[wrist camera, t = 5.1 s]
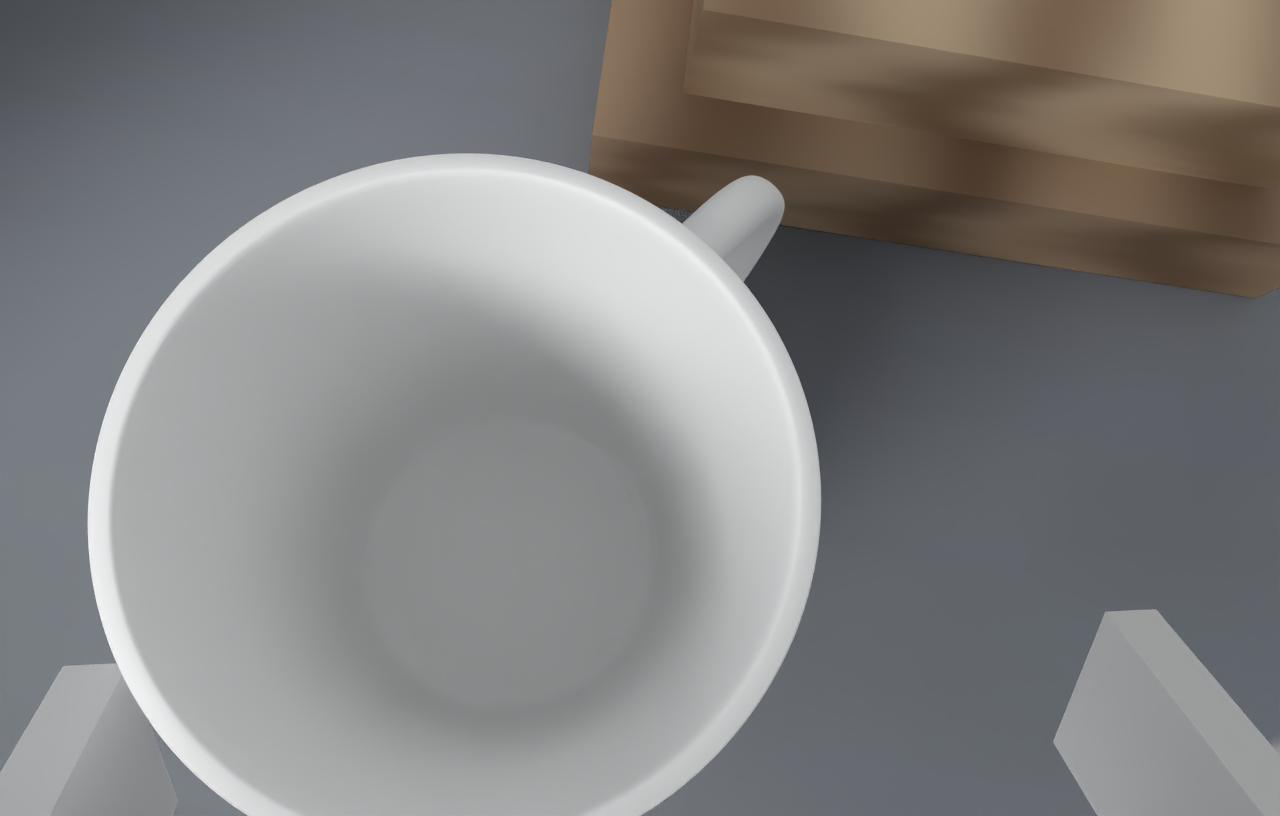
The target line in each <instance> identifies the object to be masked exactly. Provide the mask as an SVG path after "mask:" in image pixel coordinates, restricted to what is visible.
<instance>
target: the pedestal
mask: <svg viewBox="0 0 1280 816" xmlns="http://www.w3.org/2000/svg"><path fill="white" fill-rule="evenodd" d="M589 175H592V176H595V177H597V178H600V179H603V180H605V181H607V182H610V183H612V184H614V185H617V186H619V187H621V188H623V189H625V190H627V191H629V192H631V193H633V194H635V195H637V196H639V197H641V198H643V199H644V200H646V201H648V202H650V203H651V204H653V205H655V206H662V207H668V208H675V209H681V210H687V211H694V212H695V211H696V210H697V209H698V208H699V207H701V206H702V205H703V204H704V203H705V202H706V201H707V200H709V199H710V198H711V197H712V196H713V195H715V194H716V193H717V192H718V191H720V190H721V189H722V188H724V187H725V186H727V185H728V184H730V183H731V182H733V181H735V180H737V179H739V178H741V177H744V176H750V175H754V176H759V177H762V178H764V179H766V180H768V181H769V182H771V183H772V184H773V185H774V186H775V187H776V188H777V189H778V190H779V191H780V193H781V194H782V196H783V199H784V204H785V208H784V213H783V216H782V219H781V221H780V223H779V225H784V226H791V227H797V228H804V229H810V230H817V231H823V232H830V233H836V234H843V235H849V236H856V237H862V238H868V239H875V240H881V241H888V242H894V243H901V244H907V245H914V246H920V247H927V248H933V249H940V250H946V251H952V252H959V253H965V254H972V255H978V256H985V257H991V258H998V259H1004V260H1011V261H1017V262H1024V263H1030V264H1037V265H1043V266H1049V267H1056V268H1062V269H1069V270H1075V271H1082V272H1088V273H1095V274H1101V275H1108V276H1114V277H1121V278H1127V279H1133V280H1140V281H1146V282H1153V283H1159V284H1166V285H1172V286H1179V287H1185V288H1192V289H1198V290H1205V291H1211V292H1218V293H1224V294H1230V295H1237V296H1243V297H1250V298H1257V297H1260V296H1262V295H1264V294H1266V293H1268V292H1270V291H1272V290H1274V289H1277V288H1279V287H1280V0H612V3H611V10H610V16H609V23H608V30H607V37H606V43H605V50H604V57H603V64H602V71H601V77H600V84H599V91H598V98H597V104H596V111H595V118H594V125H593V131H592V141H591V152H590V164H589Z"/></svg>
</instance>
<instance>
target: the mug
mask: <svg viewBox="0 0 1280 816" xmlns="http://www.w3.org/2000/svg"><path fill="white" fill-rule="evenodd" d="M784 208H785V204H784V199H783V196H782V194H781V193H780V191H779V190H778V189H777V188H776V187H775V186H774V185H773V184H772V183H771V182H769V181H768V180H766V179H764V178H762V177H759V176H754V175H750V176H744V177H741V178H739V179H737V180H735V181H733V182H731V183H730V184H728V185H727V186H725V187H724V188H722V189H721V190H720V191H718V192H717V193H716V194H715V195H713V196H712V197H711V198H710V199H709V200H707V201H706V202H705V203H704V204H703V205H702V206H701V207H699V208H698V209H697V210H696V211H695V212H694V213H693V214H692V215H691V216H690V217H689V218H688V219H686V220H685V221H684V222H683V223H680V222H679V221H677V220H676V219H675V218H673V217H672V216H670V215H669V214H667V213H666V212H664V211H663V210H661V209H660V208H658V207H656V206H655V205H653V204H651V203H650V202H648V201H646V200H644V199H643V198H641V197H639V196H637V195H635V194H633V193H631V192H629V191H627V190H625V189H623V188H621V187H619V186H617V185H614V184H612V183H610V182H607V181H605V180H603V179H600V178H597V177H595V176H592V175H589V174H586V173H584V172H580V171H577V170H574V169H571V168H567V167H564V166H560V165H556V164H552V163H548V162H543V161H538V160H533V159H527V158H521V157H514V156H505V155H494V154H472V153H461V154H438V155H427V156H419V157H412V158H405V159H399V160H394V161H389V162H384V163H380V164H376V165H372V166H368V167H365V168H361V169H358V170H354V171H351V172H348V173H345V174H342V175H339V176H337V177H334V178H331V179H329V180H326V181H324V182H321V183H319V184H316V185H314V186H312V187H310V188H307V189H305V190H303V191H301V192H299V193H297V194H295V195H293V196H291V197H289V198H287V199H285V200H284V201H282V202H280V203H278V204H276V205H275V206H273V207H271V208H270V209H268V210H266V211H265V212H263V213H262V214H260V215H258V216H257V217H255V218H254V219H252V220H251V221H250V222H248V223H247V224H245V225H244V226H243V227H241V228H240V229H238V230H237V231H236V232H234V233H233V234H232V235H231V236H229V237H228V238H227V239H226V240H224V241H223V242H222V243H221V244H220V245H218V246H217V247H216V248H215V249H214V250H213V251H212V252H210V253H209V254H208V255H207V256H206V257H205V258H204V259H203V260H202V261H201V262H200V263H199V264H198V265H197V266H196V267H195V268H194V269H193V270H192V271H191V272H190V273H189V274H188V275H187V276H186V277H185V278H184V279H183V281H182V282H181V283H180V284H179V285H178V286H177V287H176V289H175V290H174V291H173V292H172V293H171V295H170V296H169V297H168V298H167V300H166V301H165V302H164V304H163V305H162V306H161V308H160V309H159V310H158V312H157V313H156V314H155V316H154V317H153V319H152V320H151V322H150V323H149V325H148V326H147V328H146V329H145V331H144V332H143V334H142V336H141V337H140V339H139V341H138V342H137V344H136V346H135V348H134V349H133V351H132V353H131V355H130V357H129V359H128V361H127V363H126V365H125V367H124V369H123V371H122V373H121V375H120V378H119V380H118V382H117V384H116V387H115V389H114V392H113V394H112V397H111V399H110V402H109V405H108V408H107V411H106V414H105V417H104V420H103V424H102V427H101V431H100V434H99V438H98V442H97V447H96V451H95V456H94V462H93V467H92V474H91V481H90V491H89V503H88V545H89V558H90V567H91V575H92V581H93V587H94V592H95V597H96V601H97V606H98V610H99V614H100V617H101V621H102V624H103V627H104V631H105V634H106V637H107V640H108V642H109V645H110V648H111V650H112V653H113V655H114V658H115V660H116V662H117V665H118V667H119V669H120V671H121V673H122V675H123V678H124V679H125V681H126V683H127V685H128V687H129V689H130V691H131V693H132V695H133V696H134V698H135V700H136V701H137V703H138V705H139V706H140V708H141V709H142V711H143V713H144V714H145V716H146V717H147V719H148V720H149V721H150V723H151V724H152V726H153V727H154V728H155V730H156V731H157V732H158V734H159V735H160V736H161V738H162V739H163V740H164V741H165V743H166V744H167V745H168V746H169V747H170V749H171V750H172V751H173V752H174V753H175V754H176V755H177V757H178V758H179V759H180V760H181V761H182V762H183V763H184V764H185V765H186V766H187V767H188V768H189V769H190V770H191V771H192V772H193V773H194V774H195V775H196V776H197V777H198V778H199V779H201V780H202V781H203V782H204V783H205V784H206V785H207V786H209V787H210V788H211V789H212V790H213V791H214V792H216V793H217V794H218V795H219V796H221V797H222V798H223V799H225V800H226V801H227V802H229V803H230V804H231V805H233V806H234V807H236V808H237V809H239V810H240V811H242V812H243V813H245V814H246V815H248V816H641V815H643V814H644V813H646V812H647V811H649V810H650V809H652V808H654V807H655V806H656V805H658V804H659V803H661V802H662V801H664V800H665V799H666V798H668V797H669V796H671V795H672V794H673V793H675V792H676V791H677V790H678V789H680V788H681V787H682V786H683V785H685V784H686V783H687V782H688V781H689V780H691V779H692V778H693V777H694V776H695V775H696V774H697V773H699V772H700V771H701V770H702V769H703V768H704V767H705V766H706V765H707V764H708V763H709V762H710V761H711V760H712V759H713V758H714V757H715V756H716V755H717V754H718V753H719V752H720V751H721V750H722V749H723V748H724V747H725V746H726V744H727V743H728V742H729V741H730V740H731V739H732V738H733V736H734V735H735V734H736V733H737V732H738V730H739V729H740V728H741V727H742V725H743V724H744V723H745V721H746V720H747V719H748V718H749V716H750V715H751V713H752V712H753V711H754V709H755V708H756V706H757V705H758V703H759V702H760V700H761V699H762V697H763V696H764V694H765V693H766V691H767V689H768V688H769V686H770V684H771V683H772V681H773V679H774V677H775V676H776V674H777V672H778V670H779V668H780V666H781V664H782V662H783V660H784V658H785V656H786V654H787V652H788V650H789V648H790V645H791V643H792V641H793V638H794V636H795V633H796V631H797V628H798V626H799V623H800V620H801V617H802V614H803V611H804V608H805V605H806V602H807V598H808V595H809V591H810V587H811V583H812V579H813V574H814V569H815V564H816V558H817V551H818V544H819V535H820V522H821V479H820V467H819V458H818V450H817V444H816V438H815V433H814V428H813V423H812V419H811V415H810V411H809V408H808V404H807V401H806V397H805V394H804V391H803V388H802V385H801V383H800V380H799V377H798V375H797V372H796V370H795V367H794V365H793V363H792V360H791V358H790V356H789V354H788V352H787V350H786V348H785V345H784V344H783V342H782V340H781V338H780V336H779V334H778V332H777V331H776V329H775V327H774V325H773V324H772V322H771V320H770V319H769V317H768V316H767V314H766V312H765V311H764V309H763V308H762V306H761V305H760V304H759V302H758V301H757V299H756V298H755V297H754V295H753V294H752V293H751V291H750V290H749V289H748V287H747V286H746V285H745V284H744V280H745V279H746V278H747V276H748V275H749V273H750V272H751V270H752V269H753V267H754V266H755V264H756V263H757V261H758V260H759V258H760V257H761V255H762V253H763V252H764V250H765V249H766V247H767V245H768V244H769V242H770V240H771V239H772V237H773V235H774V233H775V232H776V230H777V228H778V226H779V223H780V221H781V219H782V216H783V213H784Z"/></svg>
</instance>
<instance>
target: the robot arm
mask: <svg viewBox="0 0 1280 816" xmlns="http://www.w3.org/2000/svg"><path fill="white" fill-rule="evenodd" d="M1053 743H1054V744H1055V746H1056V748H1057V749H1058V751H1059V753H1060V754H1061V756H1062V758H1063V759H1064V761H1065V763H1066V764H1067V766H1068V768H1069V769H1070V771H1071V773H1072V774H1073V776H1074V778H1075V779H1076V781H1077V783H1078V784H1079V786H1080V788H1081V789H1082V791H1083V793H1084V794H1085V796H1086V798H1087V799H1088V801H1089V803H1090V804H1091V806H1092V808H1093V809H1094V811H1095V813H1096V814H1097V816H1280V755H1279V754H1278V753H1277V751H1276V750H1275V749H1274V748H1273V747H1272V745H1271V744H1270V743H1269V742H1268V741H1267V740H1266V738H1265V737H1264V736H1263V735H1262V734H1261V733H1260V731H1259V730H1258V729H1257V728H1256V727H1255V725H1254V724H1253V723H1252V722H1251V721H1250V720H1249V718H1248V717H1247V716H1246V715H1245V714H1244V712H1243V711H1242V710H1241V709H1240V708H1239V707H1238V705H1237V704H1236V703H1235V702H1234V701H1233V699H1232V698H1231V697H1230V696H1229V695H1228V694H1227V692H1226V691H1225V690H1224V689H1223V688H1222V687H1221V685H1220V684H1219V683H1218V682H1217V681H1216V679H1215V678H1214V677H1213V676H1212V675H1211V674H1210V672H1209V671H1208V670H1207V669H1206V668H1205V666H1204V665H1203V664H1202V663H1201V662H1200V661H1199V659H1198V658H1197V657H1196V656H1195V655H1194V653H1193V652H1192V651H1191V650H1190V649H1189V648H1188V646H1187V645H1186V644H1185V643H1184V642H1183V641H1182V639H1181V638H1180V637H1179V636H1178V635H1177V633H1176V632H1175V631H1174V630H1173V629H1172V628H1171V626H1170V625H1169V624H1168V623H1167V622H1166V620H1165V619H1164V618H1163V617H1162V616H1161V615H1160V613H1159V612H1158V611H1157V610H1156V609H1149V610H1130V611H1110V612H1105V614H1104V617H1103V619H1102V622H1101V624H1100V626H1099V629H1098V631H1097V634H1096V636H1095V639H1094V641H1093V644H1092V646H1091V649H1090V651H1089V654H1088V656H1087V659H1086V661H1085V664H1084V666H1083V669H1082V671H1081V674H1080V676H1079V679H1078V681H1077V683H1076V686H1075V688H1074V691H1073V693H1072V696H1071V698H1070V701H1069V703H1068V706H1067V708H1066V711H1065V713H1064V716H1063V718H1062V721H1061V723H1060V726H1059V728H1058V731H1057V733H1056V736H1055V738H1054V741H1053ZM177 803H178V799H177V797H176V794H175V791H174V788H173V786H172V783H171V780H170V777H169V775H168V772H167V769H166V767H165V764H164V761H163V758H162V756H161V753H160V750H159V747H158V745H157V742H156V739H155V736H154V734H153V731H152V728H151V725H150V723H149V720H148V719H147V717H146V716H145V714H144V713H143V711H142V709H141V708H140V706H139V705H138V703H137V701H136V700H135V698H134V696H133V695H132V693H131V691H130V689H129V687H128V685H127V683H126V681H125V679H124V678H123V675H122V673H121V671H120V669H119V667H118V665H117V663H114V664H95V665H76V666H63V667H62V669H61V671H60V672H59V674H58V676H57V677H56V679H55V681H54V682H53V684H52V686H51V687H50V689H49V691H48V693H47V694H46V696H45V698H44V699H43V701H42V703H41V704H40V706H39V708H38V709H37V711H36V713H35V715H34V716H33V718H32V720H31V721H30V723H29V725H28V726H27V728H26V730H25V732H24V733H23V735H22V737H21V738H20V740H19V742H18V743H17V745H16V747H15V748H14V750H13V752H12V754H11V755H10V757H9V759H8V760H7V762H6V764H5V765H4V767H3V769H2V770H1V772H0V816H173V814H174V811H175V809H176V806H177Z"/></svg>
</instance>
